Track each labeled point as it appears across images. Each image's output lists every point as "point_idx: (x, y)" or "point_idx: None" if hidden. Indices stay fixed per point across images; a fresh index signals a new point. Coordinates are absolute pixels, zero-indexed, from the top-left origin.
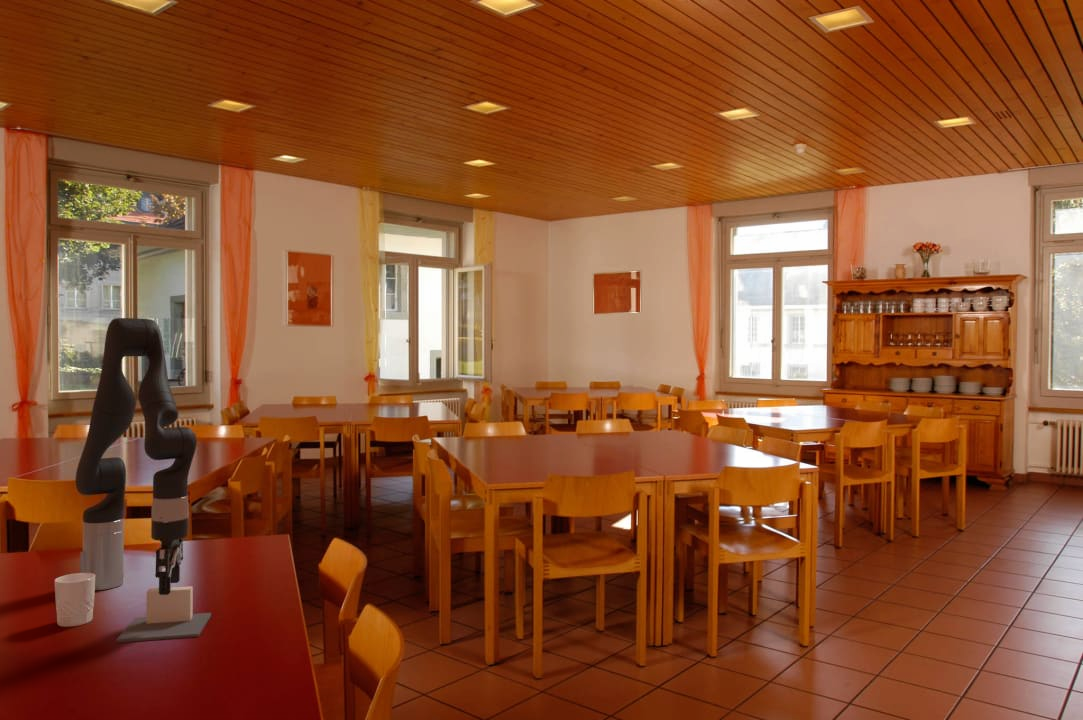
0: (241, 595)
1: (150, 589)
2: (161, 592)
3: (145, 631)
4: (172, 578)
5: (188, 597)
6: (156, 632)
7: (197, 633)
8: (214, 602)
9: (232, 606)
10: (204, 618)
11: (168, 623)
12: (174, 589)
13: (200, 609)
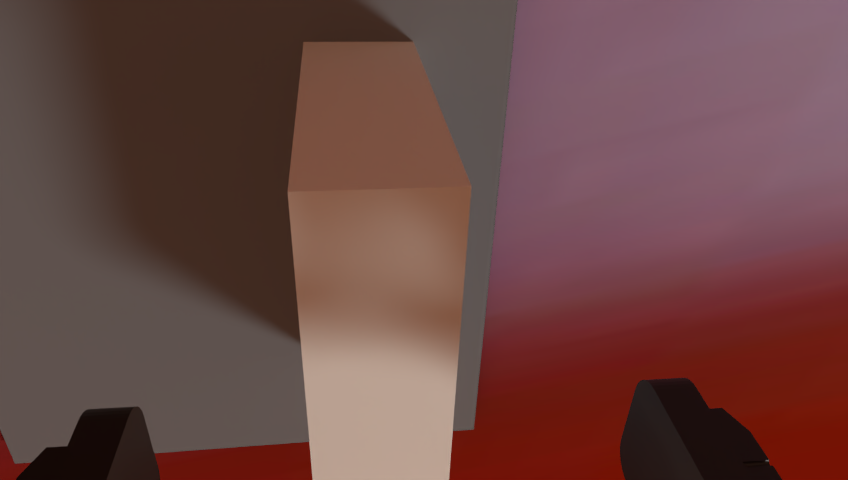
0: (821, 468)
1: (429, 209)
2: (44, 466)
3: (58, 96)
4: (658, 452)
5: None
6: (32, 198)
7: (20, 458)
8: (758, 371)
9: (616, 473)
10: None
11: (275, 230)
12: (350, 475)
13: (636, 328)
